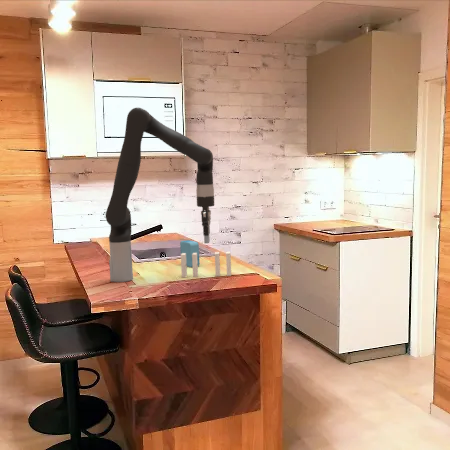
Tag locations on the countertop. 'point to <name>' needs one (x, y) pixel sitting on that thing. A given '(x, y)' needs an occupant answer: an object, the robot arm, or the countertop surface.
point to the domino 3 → (206, 238)
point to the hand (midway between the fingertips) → (206, 234)
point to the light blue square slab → (189, 251)
